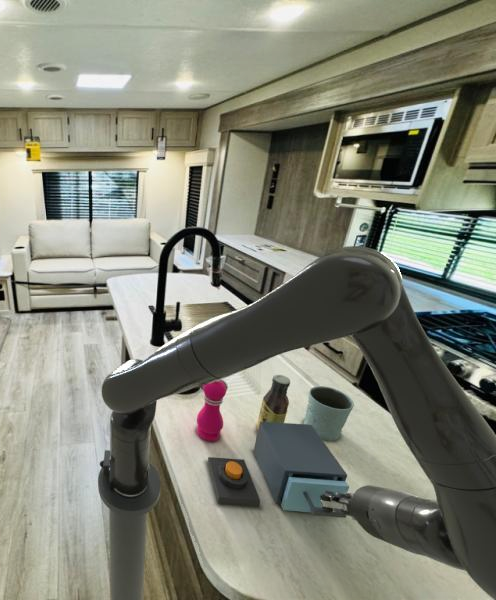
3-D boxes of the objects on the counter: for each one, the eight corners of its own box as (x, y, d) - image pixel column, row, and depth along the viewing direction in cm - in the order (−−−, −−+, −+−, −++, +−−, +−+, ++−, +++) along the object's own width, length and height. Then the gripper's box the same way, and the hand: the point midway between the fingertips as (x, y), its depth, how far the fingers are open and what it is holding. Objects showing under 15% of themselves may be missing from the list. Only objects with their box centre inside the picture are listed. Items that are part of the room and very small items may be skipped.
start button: (227, 479, 74) (228, 473, 73) (223, 465, 77) (224, 460, 76) (243, 480, 73) (244, 474, 72) (238, 467, 76) (239, 461, 76)
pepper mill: (196, 441, 89) (204, 383, 81) (194, 422, 95) (200, 367, 88) (223, 444, 87) (233, 385, 80) (218, 425, 94) (227, 369, 87)
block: (217, 503, 72) (219, 491, 70) (207, 463, 82) (208, 451, 80) (258, 507, 71) (261, 495, 69) (242, 465, 81) (245, 454, 79)
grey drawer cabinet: (334, 508, 70) (347, 475, 66) (275, 503, 71) (285, 470, 67) (302, 455, 83) (311, 424, 80) (253, 451, 85) (259, 421, 81)
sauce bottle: (254, 424, 94) (266, 368, 87) (277, 428, 92) (291, 372, 85) (257, 440, 88) (270, 382, 81) (281, 445, 86) (297, 387, 79)
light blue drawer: (352, 538, 64) (365, 508, 60) (293, 532, 65) (302, 503, 62) (306, 462, 80) (314, 436, 77) (260, 459, 82) (266, 433, 78)
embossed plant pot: (342, 427, 92) (353, 394, 88) (342, 449, 85) (354, 415, 80) (302, 413, 98) (311, 381, 94) (298, 433, 90) (308, 400, 86)
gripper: (438, 493, 47) (360, 478, 63) (344, 485, 49) (291, 473, 64) (458, 554, 44) (371, 522, 60) (357, 544, 46) (298, 516, 61)
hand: (329, 497), depth 62 cm, fingers closed
